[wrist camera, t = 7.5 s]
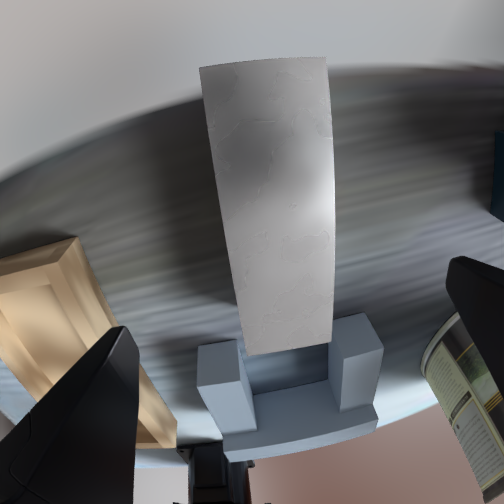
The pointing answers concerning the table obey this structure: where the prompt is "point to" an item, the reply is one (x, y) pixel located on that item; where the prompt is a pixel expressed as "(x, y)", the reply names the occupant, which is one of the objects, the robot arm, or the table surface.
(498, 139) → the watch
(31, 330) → the oak tray
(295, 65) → the steel block
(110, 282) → the table surface
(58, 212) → the table surface
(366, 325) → the bracket
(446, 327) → the coffee can
